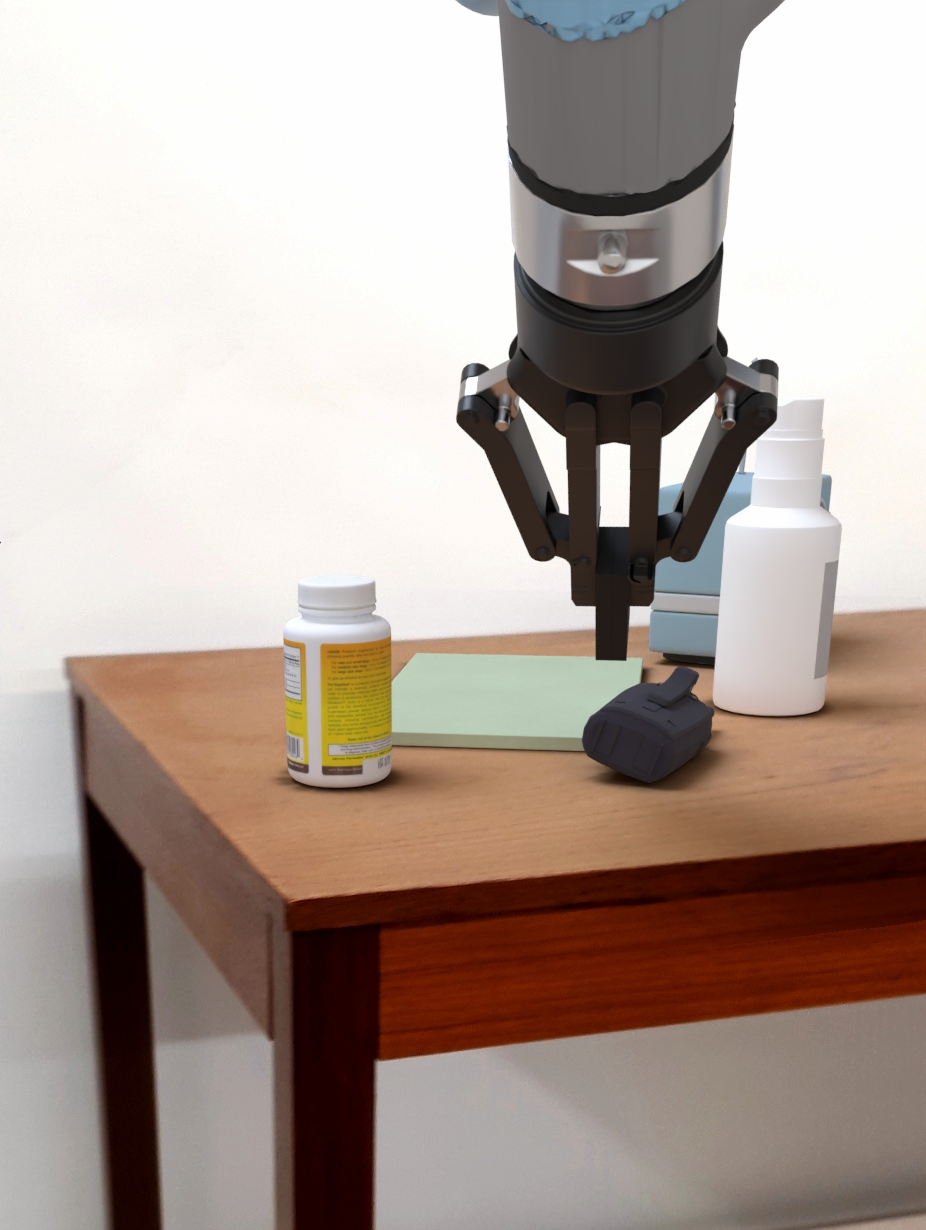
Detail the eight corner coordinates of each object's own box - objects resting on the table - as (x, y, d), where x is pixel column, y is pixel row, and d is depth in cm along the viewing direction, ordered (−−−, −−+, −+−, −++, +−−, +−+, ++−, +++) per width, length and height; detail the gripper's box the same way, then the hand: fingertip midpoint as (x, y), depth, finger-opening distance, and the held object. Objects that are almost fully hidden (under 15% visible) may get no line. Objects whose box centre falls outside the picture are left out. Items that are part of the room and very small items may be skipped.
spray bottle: (847, 708, 104) (879, 398, 97) (772, 722, 100) (801, 401, 93) (762, 691, 109) (788, 396, 102) (688, 704, 105) (709, 398, 98)
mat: (642, 669, 117) (643, 657, 116) (630, 753, 93) (631, 738, 93) (416, 664, 119) (416, 652, 119) (348, 744, 96) (348, 730, 96)
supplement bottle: (411, 773, 89) (412, 576, 85) (355, 796, 85) (353, 590, 81) (324, 761, 92) (321, 570, 88) (266, 782, 88) (260, 582, 84)
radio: (770, 674, 114) (798, 359, 106) (645, 664, 118) (663, 359, 111) (831, 640, 127) (860, 356, 119) (716, 631, 131) (737, 356, 123)
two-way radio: (663, 796, 85) (726, 744, 98) (696, 715, 83) (756, 673, 96) (566, 754, 87) (640, 709, 100) (596, 674, 85) (668, 638, 98)
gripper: (426, 323, 60) (472, 699, 81) (802, 318, 57) (747, 706, 79) (447, 170, 62) (486, 572, 84) (807, 159, 60) (752, 575, 82)
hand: (612, 637), depth 81 cm, fingers closed
